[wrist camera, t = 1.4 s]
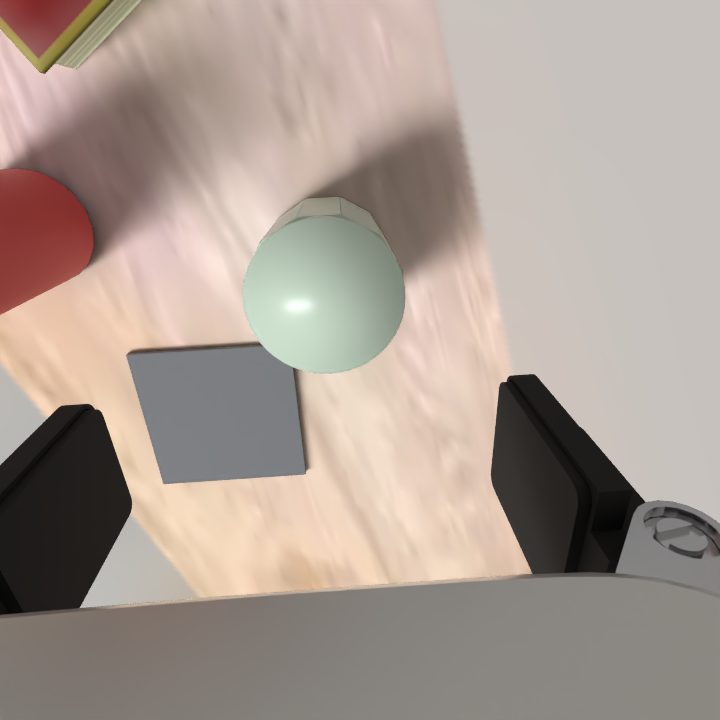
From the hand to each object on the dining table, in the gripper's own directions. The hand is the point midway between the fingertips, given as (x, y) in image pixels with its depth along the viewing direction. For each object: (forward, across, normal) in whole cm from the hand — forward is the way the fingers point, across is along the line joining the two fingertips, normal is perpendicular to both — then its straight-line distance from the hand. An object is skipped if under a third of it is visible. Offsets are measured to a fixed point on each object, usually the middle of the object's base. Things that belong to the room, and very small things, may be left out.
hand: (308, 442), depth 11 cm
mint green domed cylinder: (+20, 0, +1) cm, 20 cm away
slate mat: (+20, +8, +12) cm, 25 cm away
